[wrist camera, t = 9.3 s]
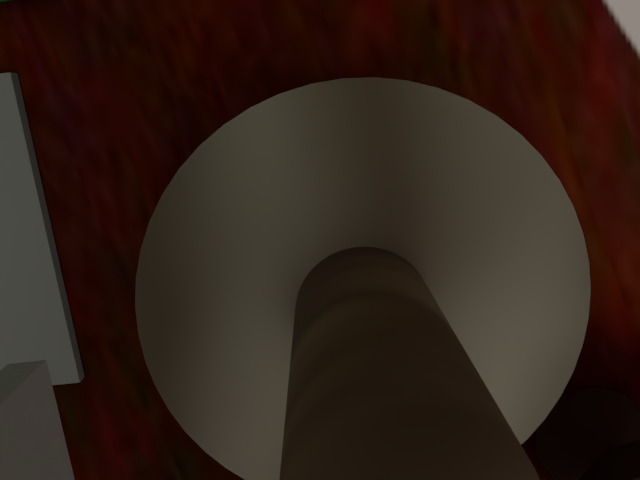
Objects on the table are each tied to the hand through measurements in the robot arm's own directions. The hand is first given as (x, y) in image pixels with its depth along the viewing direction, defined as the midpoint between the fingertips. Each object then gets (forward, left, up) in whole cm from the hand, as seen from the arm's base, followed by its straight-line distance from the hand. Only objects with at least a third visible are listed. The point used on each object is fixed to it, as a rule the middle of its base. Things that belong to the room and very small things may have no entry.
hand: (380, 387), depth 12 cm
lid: (0, 0, -5) cm, 5 cm away
